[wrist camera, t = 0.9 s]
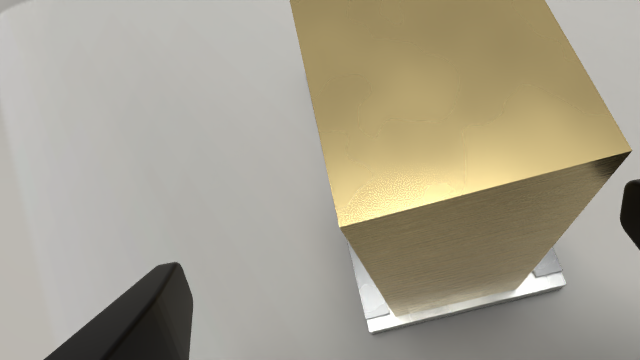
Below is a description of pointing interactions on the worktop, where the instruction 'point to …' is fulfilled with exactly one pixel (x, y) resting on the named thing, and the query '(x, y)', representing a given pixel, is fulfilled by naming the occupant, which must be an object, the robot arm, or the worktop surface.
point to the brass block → (453, 139)
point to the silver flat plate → (383, 318)
